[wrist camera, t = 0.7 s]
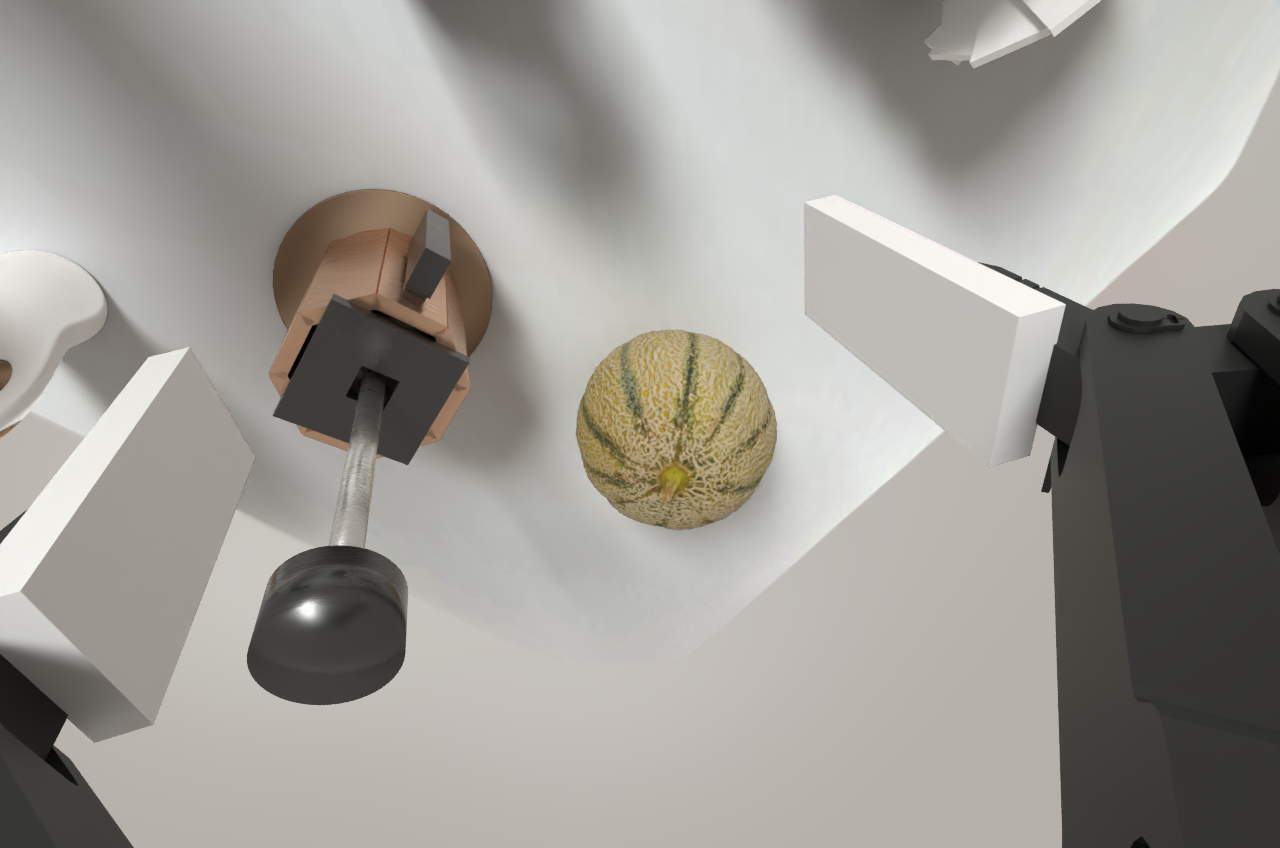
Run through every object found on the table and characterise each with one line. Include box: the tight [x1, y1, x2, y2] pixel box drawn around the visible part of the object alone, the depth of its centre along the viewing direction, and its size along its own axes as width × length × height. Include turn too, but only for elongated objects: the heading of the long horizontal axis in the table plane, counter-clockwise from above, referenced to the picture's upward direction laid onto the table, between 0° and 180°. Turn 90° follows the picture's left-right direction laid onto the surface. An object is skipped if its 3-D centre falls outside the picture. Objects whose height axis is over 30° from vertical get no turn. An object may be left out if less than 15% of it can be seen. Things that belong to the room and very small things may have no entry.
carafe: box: [269, 209, 470, 465], centre depth 40 cm, size 9×12×13 cm
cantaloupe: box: [576, 330, 777, 530], centre depth 49 cm, size 15×15×15 cm
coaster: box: [273, 189, 492, 357], centre depth 46 cm, size 14×14×1 cm
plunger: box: [247, 310, 424, 705], centre depth 29 cm, size 6×6×21 cm
